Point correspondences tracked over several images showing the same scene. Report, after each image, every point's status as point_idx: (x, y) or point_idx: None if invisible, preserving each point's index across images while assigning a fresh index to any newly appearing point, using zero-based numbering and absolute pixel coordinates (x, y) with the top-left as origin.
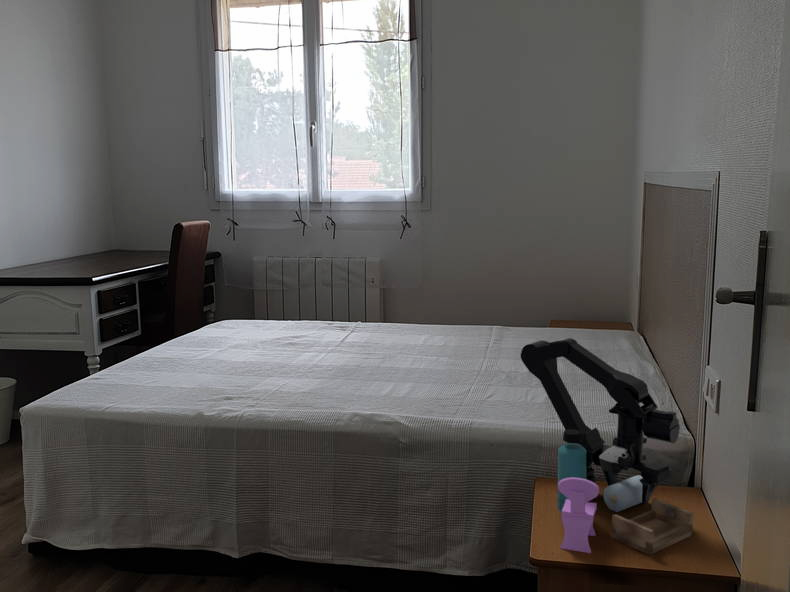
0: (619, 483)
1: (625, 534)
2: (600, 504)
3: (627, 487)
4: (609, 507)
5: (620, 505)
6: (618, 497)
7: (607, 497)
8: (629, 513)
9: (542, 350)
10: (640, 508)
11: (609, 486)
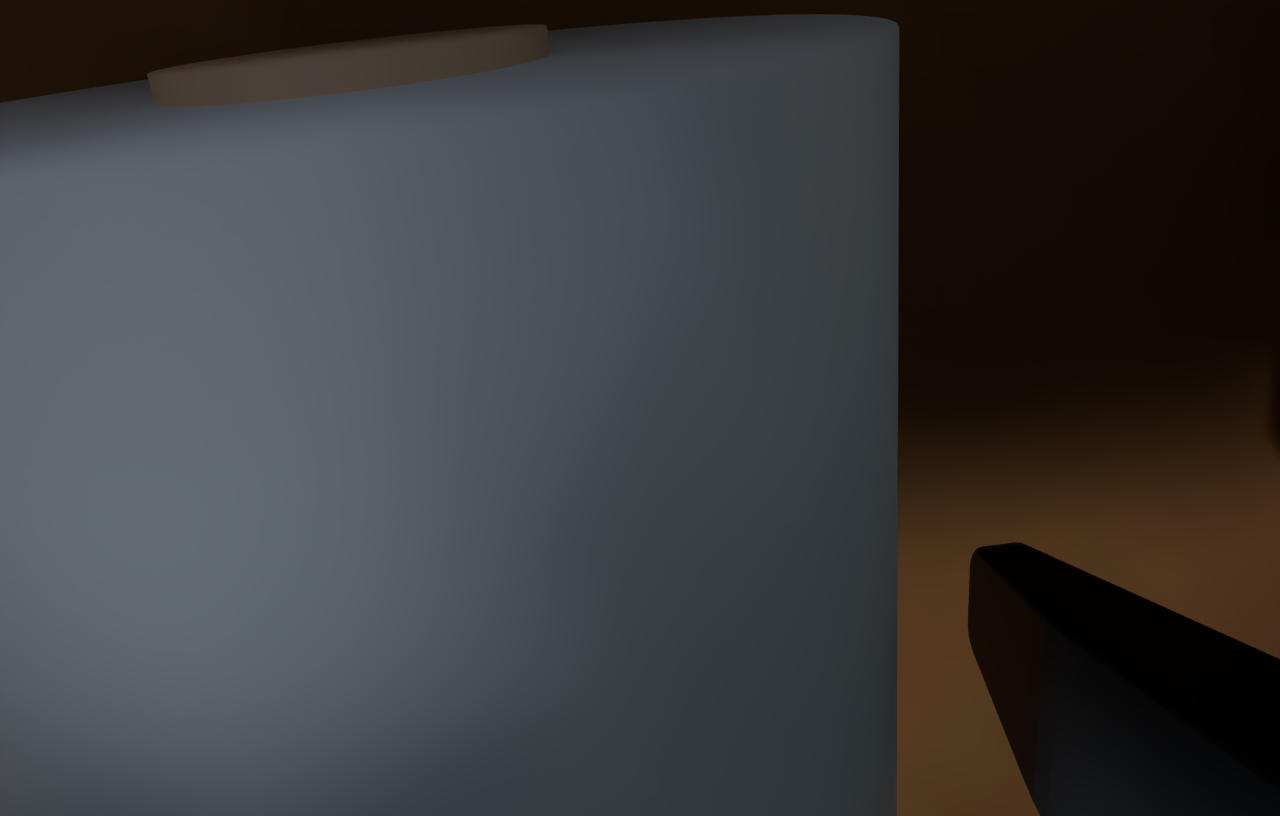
0: (424, 732)
1: None
2: None
3: (12, 788)
4: (564, 31)
5: (105, 91)
6: (95, 119)
7: (668, 38)
8: None
9: None
10: None
11: (610, 97)
